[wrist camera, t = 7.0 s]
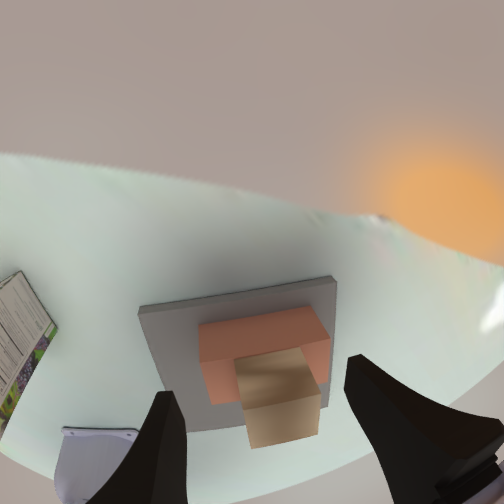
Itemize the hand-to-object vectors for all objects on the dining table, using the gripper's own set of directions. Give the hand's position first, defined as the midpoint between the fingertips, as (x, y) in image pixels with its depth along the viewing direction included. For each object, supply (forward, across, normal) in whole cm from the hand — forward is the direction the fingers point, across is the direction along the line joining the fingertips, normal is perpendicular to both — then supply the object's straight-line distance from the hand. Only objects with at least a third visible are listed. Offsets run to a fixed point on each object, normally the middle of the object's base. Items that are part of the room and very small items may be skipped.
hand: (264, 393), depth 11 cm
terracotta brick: (+9, -1, +4) cm, 10 cm away
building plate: (+10, 0, +8) cm, 13 cm away
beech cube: (+5, -1, +5) cm, 7 cm away
